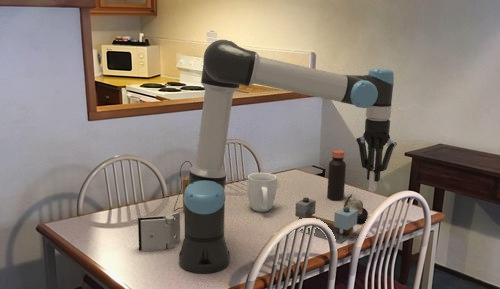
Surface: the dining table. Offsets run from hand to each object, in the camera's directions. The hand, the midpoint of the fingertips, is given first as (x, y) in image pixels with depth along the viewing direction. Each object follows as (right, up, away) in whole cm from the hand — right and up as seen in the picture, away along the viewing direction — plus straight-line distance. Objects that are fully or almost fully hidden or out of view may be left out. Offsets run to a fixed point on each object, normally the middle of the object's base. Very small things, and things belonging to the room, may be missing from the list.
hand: (372, 190), depth 161 cm
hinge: (-68, -18, -3) cm, 70 cm away
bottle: (-4, -8, +45) cm, 46 cm away
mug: (-35, -11, +30) cm, 48 cm away
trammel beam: (-13, -15, +14) cm, 24 cm away
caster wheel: (-1, -13, +24) cm, 27 cm away
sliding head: (-7, -15, +9) cm, 18 cm away
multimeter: (-61, -10, +30) cm, 69 cm away
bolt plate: (-16, -15, +10) cm, 25 cm away
